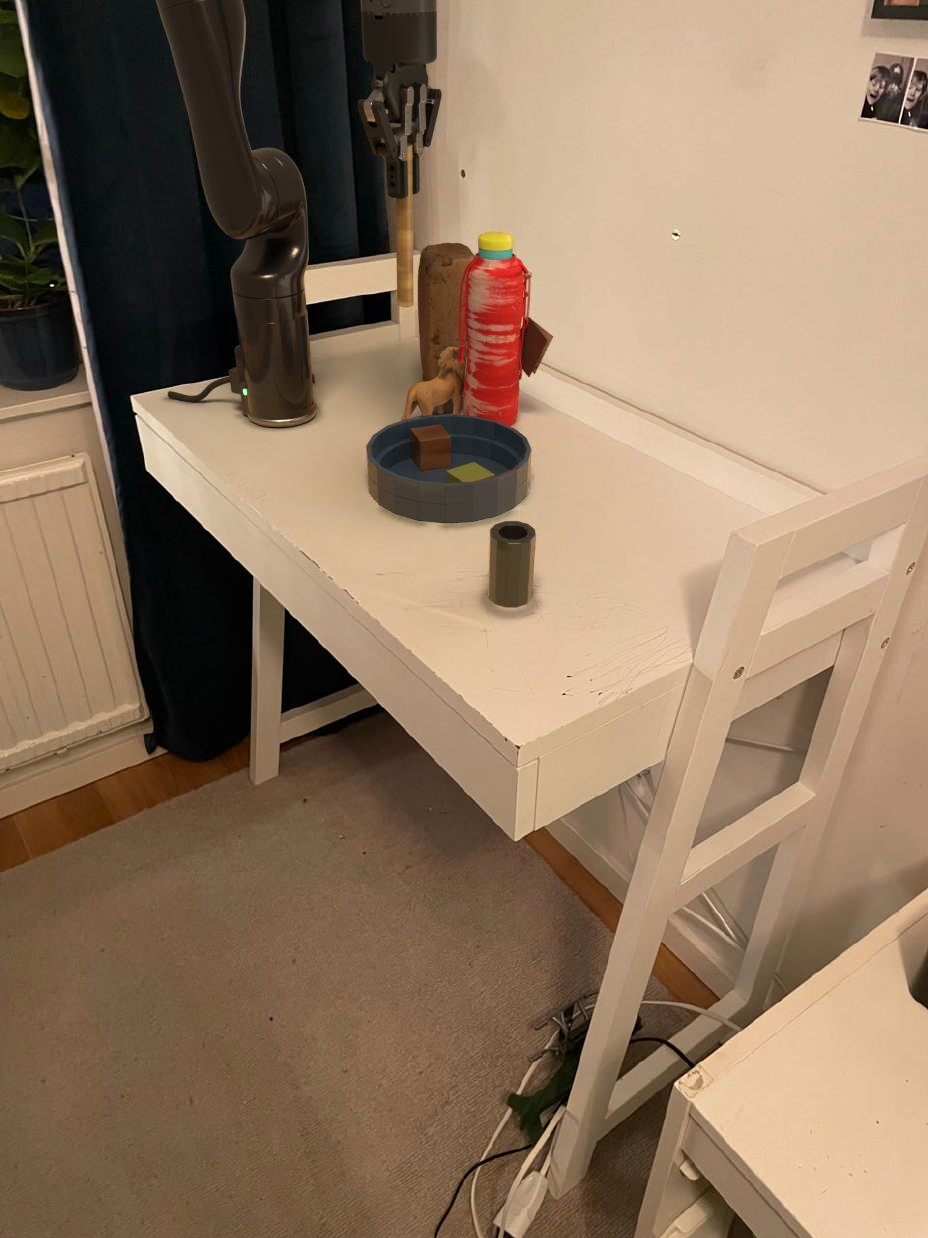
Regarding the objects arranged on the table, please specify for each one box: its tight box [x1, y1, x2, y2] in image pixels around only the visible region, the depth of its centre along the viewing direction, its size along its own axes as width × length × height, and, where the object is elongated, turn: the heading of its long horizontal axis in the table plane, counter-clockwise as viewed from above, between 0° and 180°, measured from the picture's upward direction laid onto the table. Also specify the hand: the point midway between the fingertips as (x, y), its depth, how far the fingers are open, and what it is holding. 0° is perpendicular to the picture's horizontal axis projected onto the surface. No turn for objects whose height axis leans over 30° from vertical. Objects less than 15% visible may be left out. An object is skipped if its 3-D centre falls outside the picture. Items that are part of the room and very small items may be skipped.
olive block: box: [446, 462, 495, 483], centre depth 107 cm, size 4×4×4 cm
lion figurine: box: [400, 347, 466, 421], centre depth 125 cm, size 15×5×9 cm, turn 153°
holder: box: [487, 520, 537, 609], centre depth 91 cm, size 4×4×8 cm
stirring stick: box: [395, 143, 414, 308], centre depth 105 cm, size 2×2×17 cm
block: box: [417, 242, 475, 398], centre depth 133 cm, size 11×8×20 cm
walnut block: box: [410, 424, 451, 471], centre depth 116 cm, size 4×4×4 cm
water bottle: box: [458, 231, 554, 427], centre depth 121 cm, size 12×8×25 cm, turn 101°
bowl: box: [365, 413, 533, 524], centre depth 111 cm, size 19×19×6 cm
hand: (403, 194), depth 102 cm, fingers closed on stirring stick, 2 cm apart
